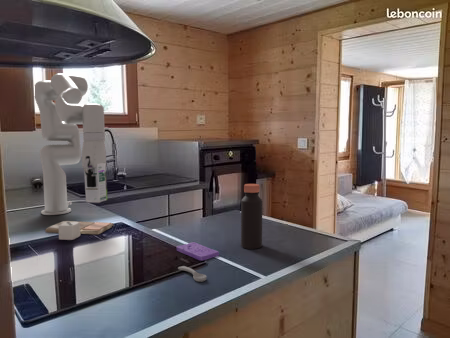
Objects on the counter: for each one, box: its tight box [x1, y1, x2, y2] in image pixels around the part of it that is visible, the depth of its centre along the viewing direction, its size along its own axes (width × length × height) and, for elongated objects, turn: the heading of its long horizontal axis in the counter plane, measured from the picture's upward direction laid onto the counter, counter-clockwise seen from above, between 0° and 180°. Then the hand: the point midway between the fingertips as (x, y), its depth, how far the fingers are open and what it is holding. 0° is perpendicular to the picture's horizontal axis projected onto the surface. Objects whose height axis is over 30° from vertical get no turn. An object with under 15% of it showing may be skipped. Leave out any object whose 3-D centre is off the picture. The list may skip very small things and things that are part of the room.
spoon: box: [177, 265, 208, 283], centre depth 91 cm, size 3×12×2 cm, turn 36°
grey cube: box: [58, 221, 81, 241], centre depth 124 cm, size 5×5×5 cm
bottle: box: [240, 183, 263, 250], centre depth 113 cm, size 7×7×20 cm
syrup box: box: [83, 162, 109, 204], centre depth 133 cm, size 6×6×14 cm
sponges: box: [176, 241, 220, 261], centre depth 108 cm, size 7×13×2 cm, turn 42°
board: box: [44, 220, 114, 235], centre depth 136 cm, size 12×21×2 cm, turn 82°
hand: (96, 185), depth 133 cm, fingers closed on syrup box, 5 cm apart
